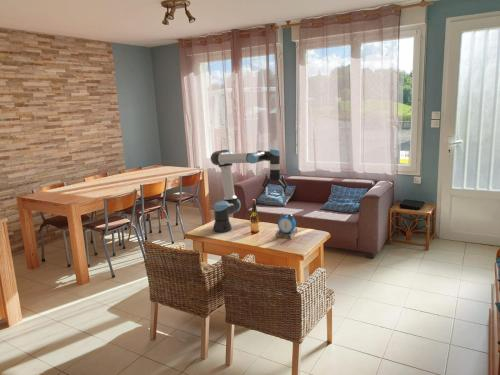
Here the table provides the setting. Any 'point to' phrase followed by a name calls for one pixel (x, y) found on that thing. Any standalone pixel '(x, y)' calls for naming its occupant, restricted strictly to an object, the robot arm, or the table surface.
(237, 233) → the table surface
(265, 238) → the table surface
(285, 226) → the alarm clock
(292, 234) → the plinth
